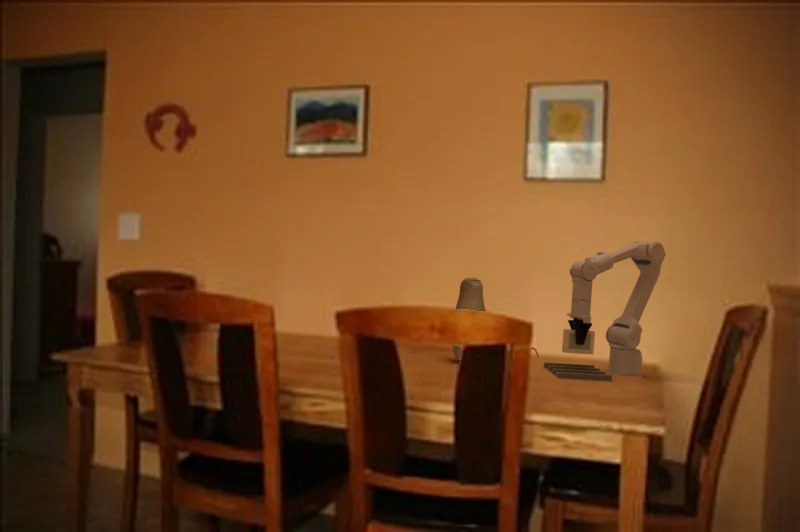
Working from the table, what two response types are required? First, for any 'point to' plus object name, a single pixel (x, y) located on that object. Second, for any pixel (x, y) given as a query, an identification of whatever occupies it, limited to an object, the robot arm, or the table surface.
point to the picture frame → (572, 347)
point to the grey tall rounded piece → (469, 301)
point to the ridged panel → (577, 372)
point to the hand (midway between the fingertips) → (578, 343)
